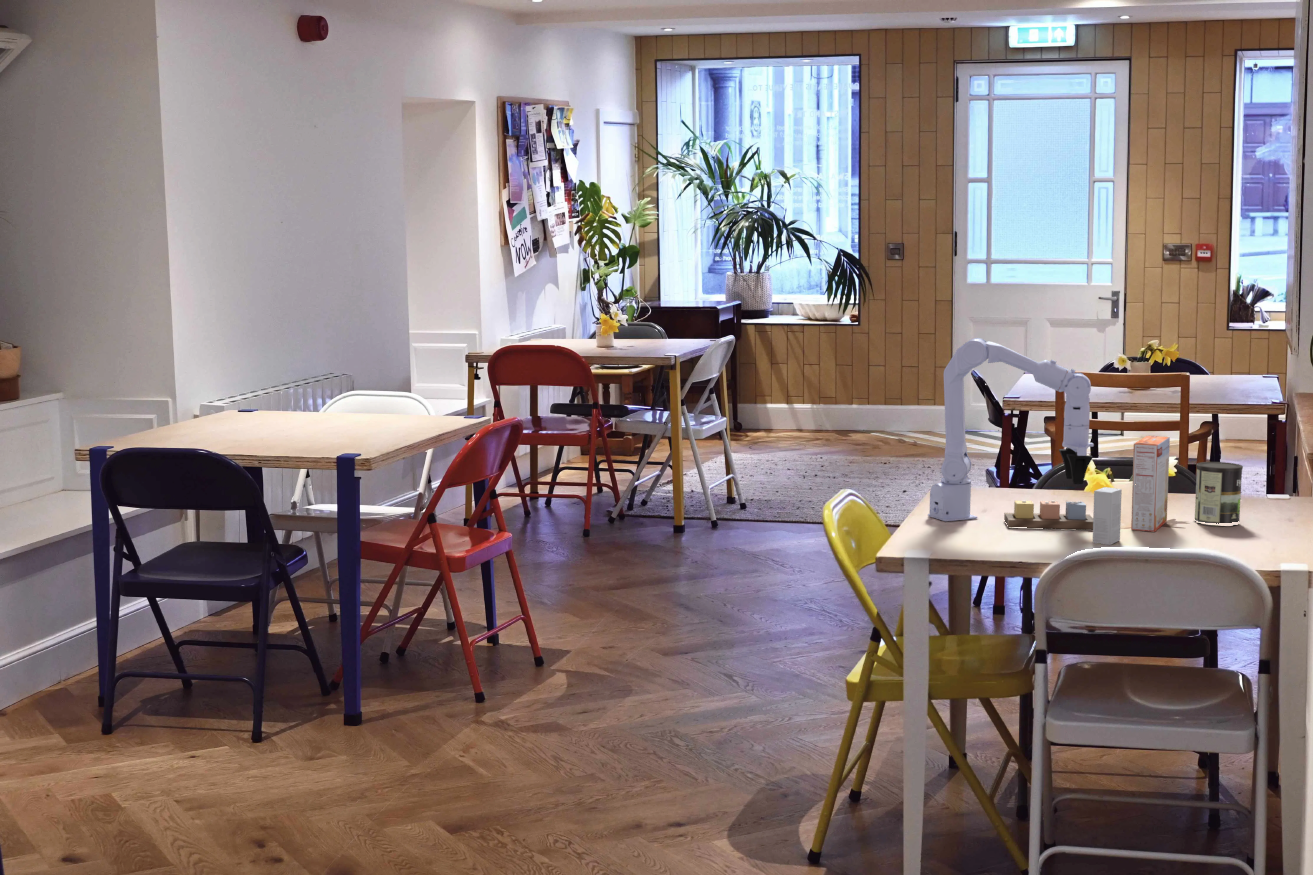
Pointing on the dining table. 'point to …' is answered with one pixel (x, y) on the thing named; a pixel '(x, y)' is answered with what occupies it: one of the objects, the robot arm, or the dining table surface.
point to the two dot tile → (1049, 509)
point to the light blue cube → (1076, 510)
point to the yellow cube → (1023, 509)
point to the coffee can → (1218, 492)
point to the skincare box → (1107, 515)
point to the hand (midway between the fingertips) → (1074, 481)
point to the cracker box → (1150, 483)
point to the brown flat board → (1049, 522)
